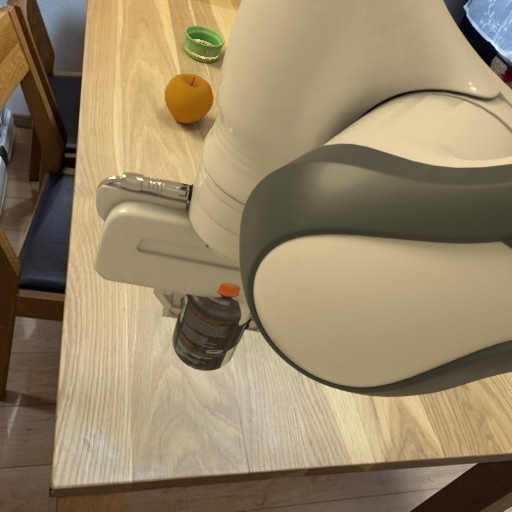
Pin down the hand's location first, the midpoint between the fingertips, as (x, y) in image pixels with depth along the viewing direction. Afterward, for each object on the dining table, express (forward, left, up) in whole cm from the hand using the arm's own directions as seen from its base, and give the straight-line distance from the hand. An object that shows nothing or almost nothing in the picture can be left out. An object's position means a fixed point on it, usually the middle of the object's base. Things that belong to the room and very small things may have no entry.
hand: (213, 318), depth 43 cm
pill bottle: (0, 0, -4) cm, 4 cm away
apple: (+57, +5, -19) cm, 60 cm away
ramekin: (+85, +4, -19) cm, 87 cm away
